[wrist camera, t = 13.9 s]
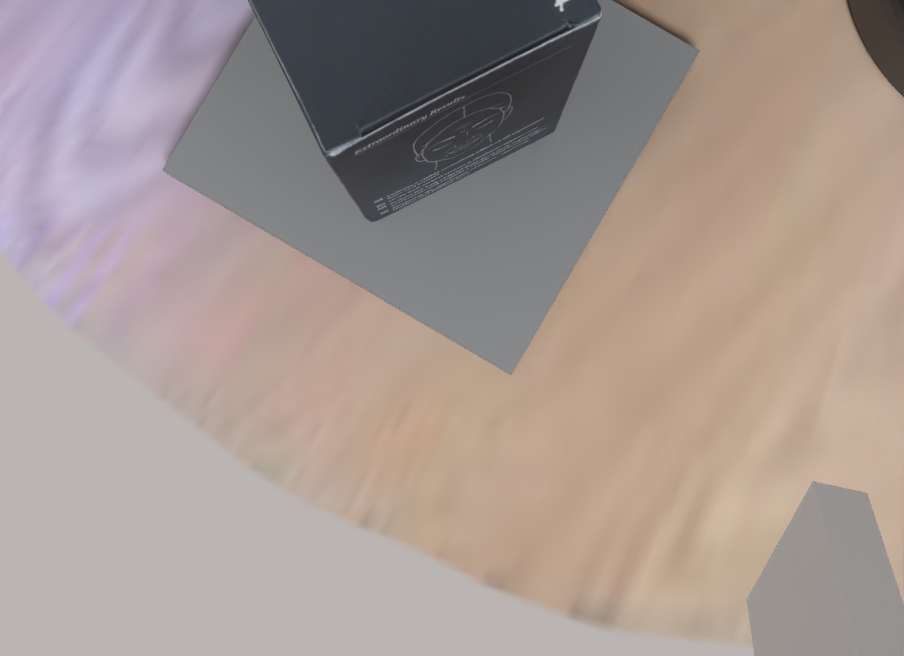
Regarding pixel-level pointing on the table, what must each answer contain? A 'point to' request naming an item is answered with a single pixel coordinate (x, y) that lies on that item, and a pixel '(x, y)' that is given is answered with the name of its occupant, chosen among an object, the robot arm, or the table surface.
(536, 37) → the box
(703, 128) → the table surface
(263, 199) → the mat
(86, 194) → the table surface
